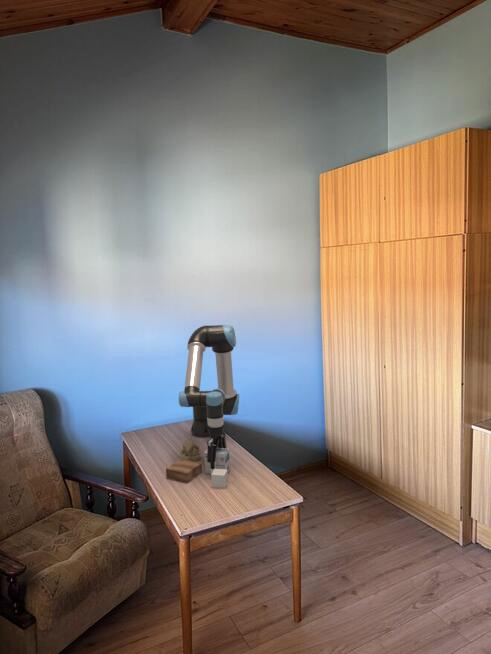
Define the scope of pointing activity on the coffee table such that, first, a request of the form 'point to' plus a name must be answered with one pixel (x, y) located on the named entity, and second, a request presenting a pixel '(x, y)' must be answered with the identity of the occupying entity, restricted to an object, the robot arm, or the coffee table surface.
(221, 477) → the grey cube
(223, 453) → the light bulb box
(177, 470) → the base block
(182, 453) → the ceramic model
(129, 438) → the coffee table surface
